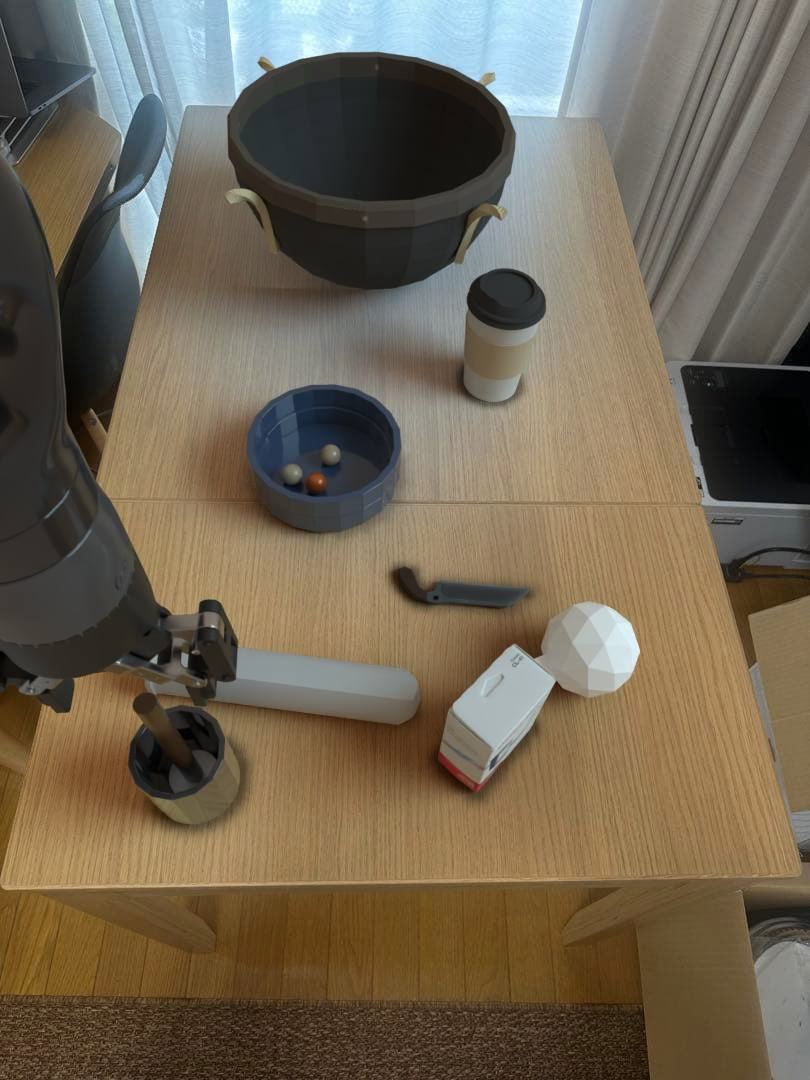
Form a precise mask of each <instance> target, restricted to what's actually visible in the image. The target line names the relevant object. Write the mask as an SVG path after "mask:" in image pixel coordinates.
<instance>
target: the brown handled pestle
mask: <svg viewBox="0 0 810 1080" xmlns="http://www.w3.org/2000/svg"><path fill="white" fill-rule="evenodd" d="M132 709H133V711H134V713H135V715H137V716H138V718H139V720H140V721H141V722H142V724H143V723H144V725H145V726H146V727H147V729H148V730H149V731H150V733H151V734H152V735H153V737H154V738H155V739H156V741H157V742H158V743H159V745H160V746H161V747H162V749H163V750H164V751H165V753H166V754H167V755H168V757H169V758H170V759H171V761H172V762H173V764H172V766H171V768H170V771H169V776H168V781H169V786H170V788H171V790H172V792H173V793H177V792H181V791H184V790H188V789H191V788H193V787H195V786H196V785H197V784H198V783H199V782H201V781H202V780H203V779H204V778H206V777H207V776H208V775H209V773H210V771H211V770H212V768H213V766H214V764H215V762H216V760H217V759H216V758H215V756H214V755H212V754H211V753H210V752H208V751H205V750H200V749H195V750H190V749H189V747H188V746H187V744H186V743H185V741H184V739H183V738H182V736H181V735H180V733H179V732H178V730H177V729H176V727H175V725H174V724H173V722H172V721H171V719H170V718H169V716H168V715H167V713H166V712H165V710H164V709H165V708H164V706H163V705H162V704H161V701H159V699H158V698H157V695H154V694H153V693H150V692H148V691H144V692H141V693H139V694H137V695H136V696H135V698H133V701H132Z"/></svg>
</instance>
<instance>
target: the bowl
mask: <svg viewBox="0 0 810 1080" xmlns="http://www.w3.org/2000/svg"><path fill="white" fill-rule="evenodd" d="M256 63H257V64H258V66H259V67H260V68H261V69H262V70H264V72H265V73H263V74H262V75H261V76H259V77H258V78H257V79H255V80H254V81H252V83H249V84H248V86H247V85H246V87H245V88H243V89H242V90H241V92H240V93H239V95H238V97H237V99H236V101H235V102H234V103H233V104H232V106H231V109H230V110H229V112H228V114H227V115H226V123H227V125H226V127H227V128H226V129H227V132H226V133H227V158H228V160H229V161H230V163H231V164H232V166H233V169H234V173H235V177H236V181H237V184H238V186H239V188H233V189H229V190H228V191H226V192H225V193H224V194H223V195H222V198H223V199H224V201H225V202H226V204H227V205H232V204H236V203H240V202H246V204H247V206H248V207H249V209H250V211H251V213H252V214H253V215H254V217H255V219H256V220H257V222H258V223H259V226H260V227H261V229H262V230H263V232H264V234H265V238H266V241H267V245H268V249H269V254H273V255H278V254H279V252H281V253H283V254H284V255H285V256H287V257H288V259H290V260H291V261H293V262H294V263H296V264H297V265H298V266H299V267H301V268H302V269H303V270H305V271H307V272H308V274H311V275H313V276H315V277H317V278H320V279H323V280H325V281H327V282H330V283H332V284H335V285H338V286H342V287H345V288H353V289H357V290H364V291H376V290H377V291H378V290H393V289H398V288H401V287H404V286H408V285H412V284H415V283H419V282H423V281H425V280H427V279H428V278H429V277H431V276H433V275H434V274H437V273H438V272H440V271H441V270H444V269H445V268H446V267H448V266H449V265H451V264H453V263H454V264H457V265H463V263H464V260H465V256H466V253H467V250H468V249H469V248H470V247H471V245H472V244H473V243H474V242H475V241H476V239H477V238H478V237H479V235H480V234H481V233H482V232H483V231H484V229H485V227H486V226H487V225H488V223H489V222H490V220H491V219H492V217H495V218H496V219H498V220H499V221H501V222H502V221H503V220H505V218H506V217H507V216H508V215H509V212H508V210H507V208H506V207H505V206H503V205H499V203H500V201H501V199H502V196H503V193H504V189H505V184H506V181H507V179H508V178H509V177H510V176H511V173H512V168H513V163H514V158H515V152H516V142H517V140H516V139H517V132H516V129H515V127H514V124H513V122H512V120H511V117H510V115H509V112H508V110H507V107H506V106H505V105H504V104H503V103H502V101H500V100H499V99H498V97H496V96H495V95H494V94H493V93H492V92H491V91H490V90H489V89H488V87H487V86H489V85H490V84H492V83H494V82H495V81H496V72H494V71H493V72H486V73H484V74H483V75H482V76H481V78H480V79H479V80H478V81H477V80H476V79H473V78H472V77H469V75H468V76H467V75H466V74H464V73H462V72H460V71H458V70H457V69H456V68H453V67H450V66H447V65H443V64H440V63H437V62H434V61H431V60H427V59H423V58H421V57H418V56H410V55H404V54H398V53H397V54H396V53H391V52H382V51H337V52H332V53H327V54H326V53H325V54H321V55H316V56H315V55H314V56H310V57H304V58H303V57H302V58H299V59H296V60H294V61H292V62H289V63H286V64H284V65H282V66H279V67H276V66H275V65H274V64H273V63H272V61H271V60H269V59H268V58H267V57H265V56H260V57H259V59H258V61H256Z"/></svg>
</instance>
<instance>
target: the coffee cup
mask: <svg viewBox="0 0 810 1080" xmlns="http://www.w3.org/2000/svg"><path fill="white" fill-rule="evenodd" d="M545 295H546V294H545V293H544V291H543V289H542V288H541V287H540V286H539V284H538V283H537V282H536V280H535V279H534V278H533V277H532V276H530V275H529V274H527V273H525V272H523V271H521V270H518V269H514V268H508V267H501V268H494V269H492V270H489V271H487V272H485V273H483V274H481V275H479V276H477V277H476V278H475V279H474V280H473V281H472V282H471V284H470V286H469V289H468V292H467V295H466V305H467V311H466V313H465V323H464V325H465V326H464V327H465V328H464V345H463V358H464V363H463V364H464V365H463V386H464V388H465V389H466V391H467V392H468V393H469V394H470V395H472V396H473V397H474V398H475V399H479V400H481V401H484V402H489V403H499V402H504V401H506V400H508V399H510V398H511V397H512V396H513V395H514V394H515V392H516V390H517V388H518V385H519V382H520V378H521V376H522V375H523V371H524V370H525V368H526V365H527V363H528V361H529V357H530V355H531V351H532V349H533V346H534V343H535V342H536V338H537V335H538V332H539V330H540V323H541V320H542V319H543V318H544V316H545V314H546V311H547V299H546V296H545Z"/></svg>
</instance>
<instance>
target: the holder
mask: <svg viewBox="0 0 810 1080" xmlns="http://www.w3.org/2000/svg"><path fill="white" fill-rule="evenodd" d="M164 710H165V712H166V713H167V715H168V716H169V718H170V719H171V721H172V722H173V724H174V725H175V727H176V729H177V730H178V732H179V733H180V735H181V736H182V738H183V739H184V741H185V743H186V744H187V746H188V747H189V749H190V750H195V749H200V750H205V751H208V752H210V753H211V754H212V755H214V756H215V758H216V759H217V760H216V762H215V764H214V766H213V768H212V770H211V771H210V773H209V775H208V776H207V777H206V778H204V779H203V780H202V781H201V782H199V783H198V784H197V785H196V786H195V787H193V788H191V789H188V790H184V791H181V792H177V793H173V792H172V790H171V788H170V786H169V781H168V776H169V771H170V768H171V766H172V764H173V762H172V761H171V759H170V758H169V757H168V755H167V754H166V753H165V751H164V750H163V749H162V747H161V746H160V745H159V743H158V742H157V741H156V739H155V738H154V737H153V735H152V734H151V733H150V731H149V730H148V729H147V727H146V726H145V725H144V723H143V722H142V723H141V725H140V726H139V727H138V729H137V731H136V733H135V734H134V736H133V738H132V740H131V741H130V743H129V751H128V757H127V758H128V759H127V767H128V770H129V772H130V775H131V778H132V781H133V783H134V785H135V786H136V787H138V789H139V790H140V791H141V792H142V793H144V795H145V796H146V797H147V798H148V800H150V801H151V802H152V803H153V804H154V805H155V806H156V807H157V808H158V809H159V810H160V811H161V812H162V813H164V814H165V815H166V816H167V817H168V818H170V819H171V820H172V821H173V822H177V823H179V824H183V825H189V826H190V825H191V826H193V825H201V824H204V823H208V822H210V821H213V820H214V819H216V818H218V817H220V816H221V815H222V814H223V813H224V812H225V811H227V809H228V808H229V807H230V806H231V805H232V803H233V801H235V799H236V796H237V794H238V791H239V788H240V784H241V783H240V782H241V771H240V769H241V768H240V764H239V763H238V760H237V757H236V756H235V753H234V751H233V748H232V747H231V745H230V743H229V741H228V739H227V737H226V735H225V733H224V731H223V729H222V727H221V724H220V723H219V719H217V718H216V717H214V716H213V715H212V714H210V713H209V712H208V711H206V710H205V709H204V708H202V707H199V706H198V707H195V706H193V705H192V706H191V705H185V704H179V705H175V706H172V707H168V708H164Z"/></svg>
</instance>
